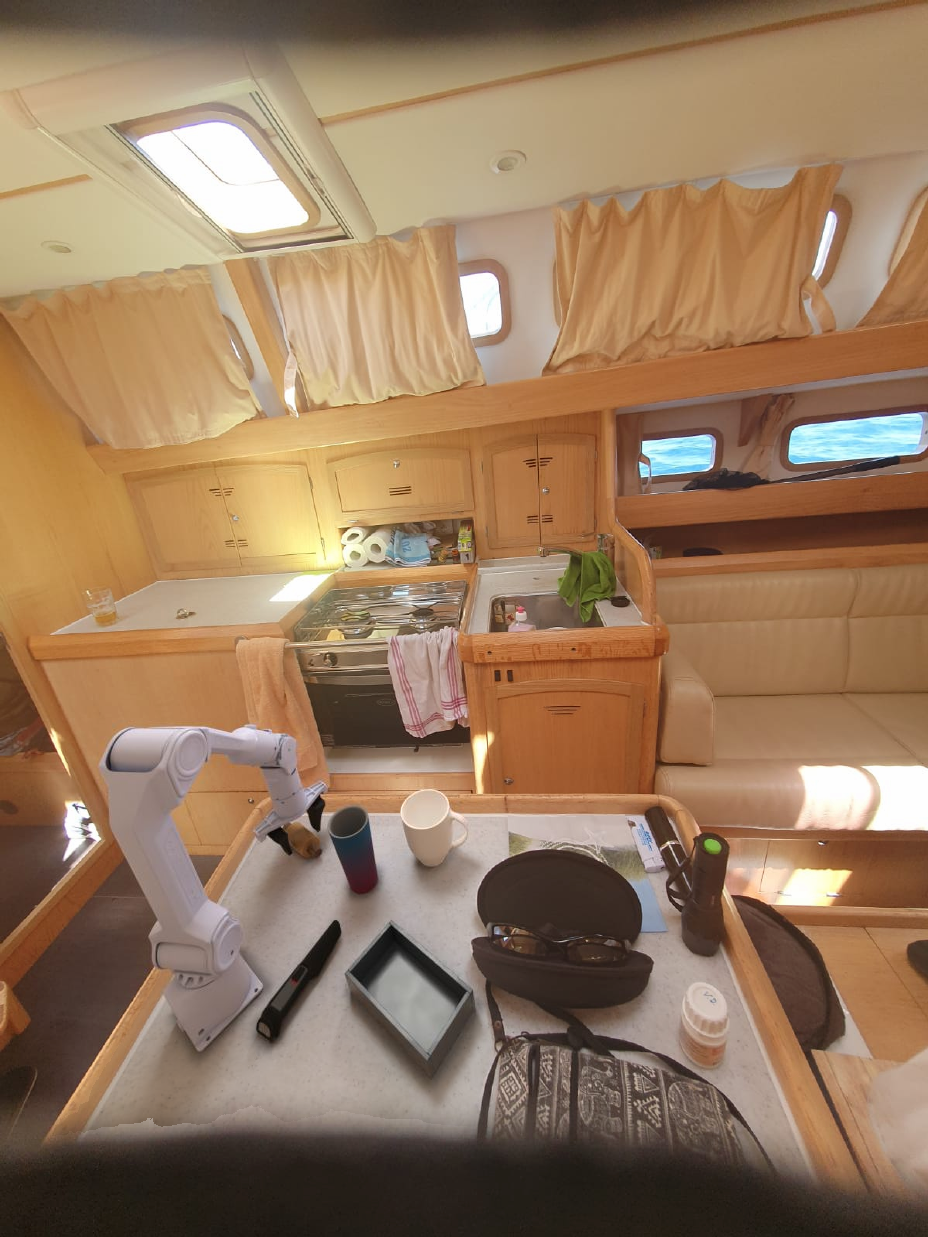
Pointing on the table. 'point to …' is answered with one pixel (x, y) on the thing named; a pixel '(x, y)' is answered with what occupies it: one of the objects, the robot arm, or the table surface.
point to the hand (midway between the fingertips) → (302, 840)
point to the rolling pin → (303, 840)
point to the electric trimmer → (297, 983)
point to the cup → (354, 847)
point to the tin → (411, 996)
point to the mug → (430, 826)
